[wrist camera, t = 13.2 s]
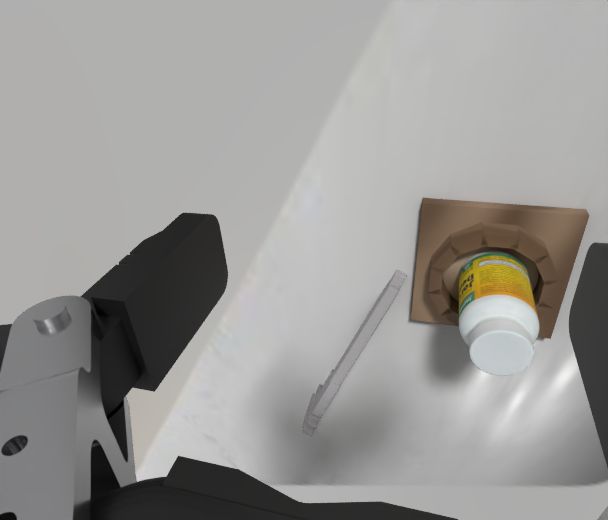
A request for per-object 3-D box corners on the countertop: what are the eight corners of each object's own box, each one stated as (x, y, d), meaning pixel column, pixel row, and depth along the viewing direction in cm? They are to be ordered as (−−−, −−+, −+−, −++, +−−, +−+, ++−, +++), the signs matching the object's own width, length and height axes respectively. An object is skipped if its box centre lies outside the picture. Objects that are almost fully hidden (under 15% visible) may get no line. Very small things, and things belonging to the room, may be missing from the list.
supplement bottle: (520, 305, 39) (536, 390, 32) (454, 297, 41) (454, 377, 33) (534, 250, 37) (554, 329, 29) (462, 244, 38) (463, 318, 30)
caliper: (320, 397, 55) (306, 443, 50) (312, 393, 55) (297, 438, 50) (407, 272, 43) (400, 316, 38) (396, 267, 43) (388, 310, 38)
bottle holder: (586, 209, 35) (595, 228, 33) (548, 331, 42) (554, 354, 39) (423, 198, 38) (420, 214, 36) (411, 313, 45) (408, 333, 42)
